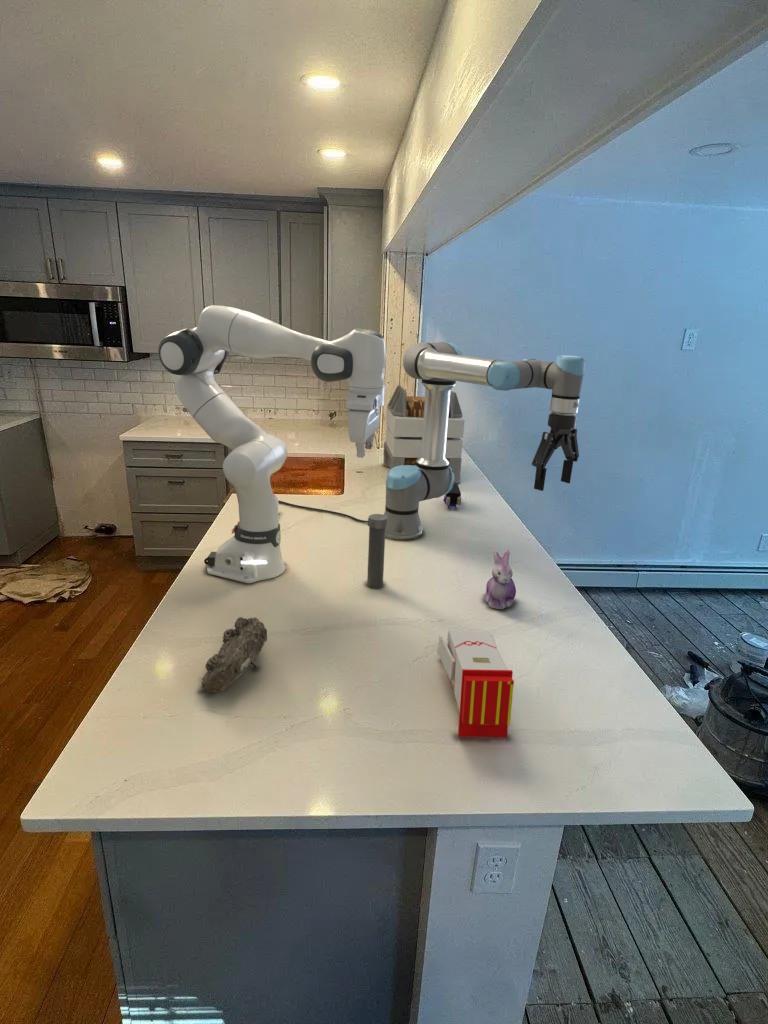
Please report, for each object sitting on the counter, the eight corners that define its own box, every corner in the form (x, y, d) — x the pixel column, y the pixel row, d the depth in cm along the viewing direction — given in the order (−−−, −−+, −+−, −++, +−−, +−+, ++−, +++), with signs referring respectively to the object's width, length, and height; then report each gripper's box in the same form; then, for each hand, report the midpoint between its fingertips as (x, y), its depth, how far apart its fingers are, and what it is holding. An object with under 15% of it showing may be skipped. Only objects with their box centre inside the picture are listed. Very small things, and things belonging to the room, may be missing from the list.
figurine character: (461, 514, 225) (456, 498, 239) (463, 497, 222) (458, 482, 235) (444, 513, 225) (440, 498, 239) (446, 496, 222) (442, 481, 235)
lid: (390, 525, 157) (391, 517, 156) (378, 530, 153) (379, 521, 152) (376, 520, 160) (376, 512, 159) (364, 525, 156) (364, 517, 155)
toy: (488, 613, 130) (523, 677, 101) (484, 667, 133) (517, 744, 104) (435, 612, 130) (455, 676, 101) (432, 666, 133) (451, 743, 103)
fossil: (219, 620, 133) (266, 590, 128) (247, 647, 136) (294, 619, 131) (181, 686, 113) (234, 654, 108) (214, 717, 116) (267, 687, 111)
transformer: (382, 463, 289) (386, 382, 275) (445, 464, 293) (451, 384, 279) (390, 482, 257) (394, 392, 243) (460, 483, 261) (468, 394, 247)
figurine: (497, 613, 149) (504, 562, 144) (474, 596, 158) (480, 547, 153) (525, 606, 154) (532, 556, 149) (501, 590, 162) (508, 542, 157)
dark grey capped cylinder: (386, 584, 163) (389, 518, 156) (376, 589, 160) (378, 522, 153) (374, 579, 166) (376, 514, 159) (363, 584, 162) (366, 518, 156)
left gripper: (363, 391, 150) (361, 442, 155) (344, 403, 131) (343, 461, 136) (386, 393, 149) (384, 444, 154) (370, 405, 130) (368, 463, 135)
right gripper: (548, 419, 148) (537, 496, 155) (598, 411, 163) (586, 482, 171) (525, 414, 153) (515, 489, 160) (575, 407, 169) (564, 476, 176)
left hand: (365, 452), depth 145 cm, fingers open, 8 cm apart
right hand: (552, 485), depth 166 cm, fingers open, 13 cm apart
